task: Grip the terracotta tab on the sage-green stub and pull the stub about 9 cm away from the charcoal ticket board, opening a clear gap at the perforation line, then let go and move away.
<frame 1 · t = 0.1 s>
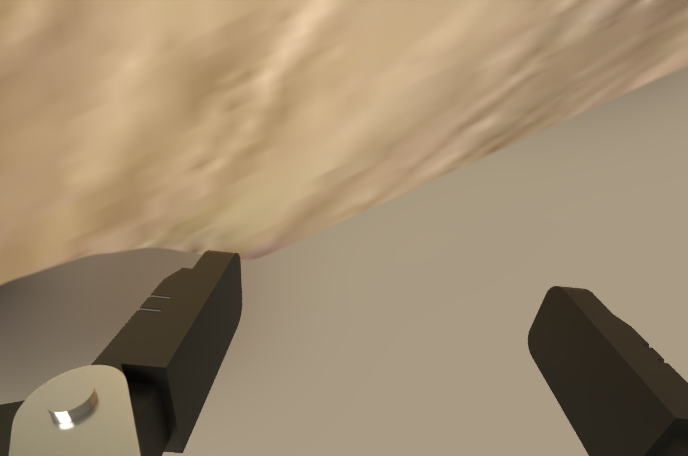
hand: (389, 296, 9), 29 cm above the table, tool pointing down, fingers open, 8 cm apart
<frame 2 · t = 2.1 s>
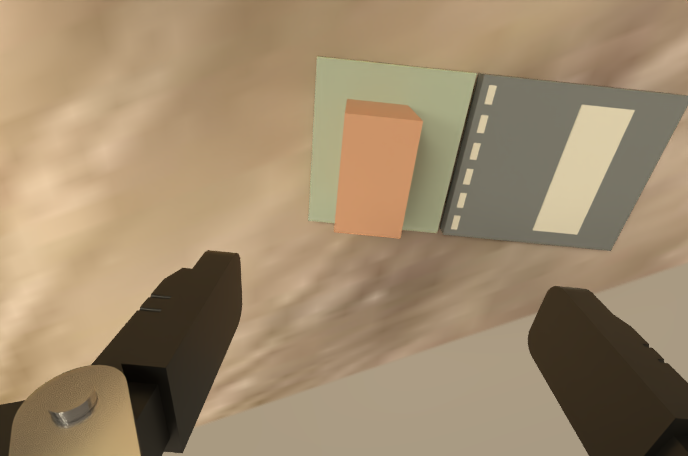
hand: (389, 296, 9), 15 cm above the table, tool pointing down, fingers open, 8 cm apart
stub: (386, 165, 19), point 3 cm above the table, slide at 0.0 cm
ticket: (546, 167, 22), on the table
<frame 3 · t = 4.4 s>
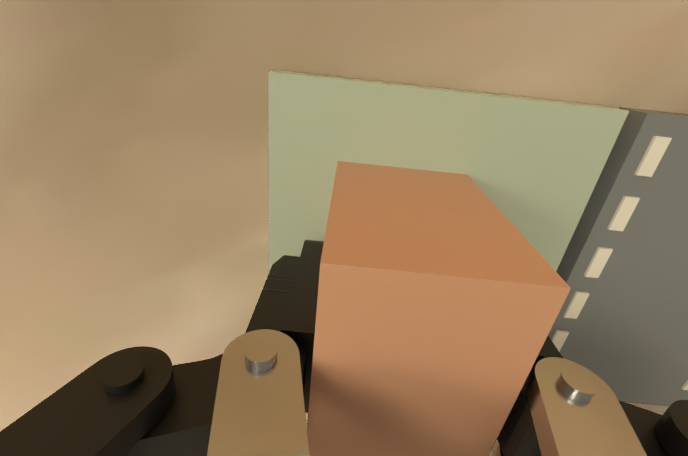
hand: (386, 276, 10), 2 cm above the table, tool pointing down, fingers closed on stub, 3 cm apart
stub: (423, 310, 9), point 3 cm above the table, slide at 0.0 cm, touching gripper
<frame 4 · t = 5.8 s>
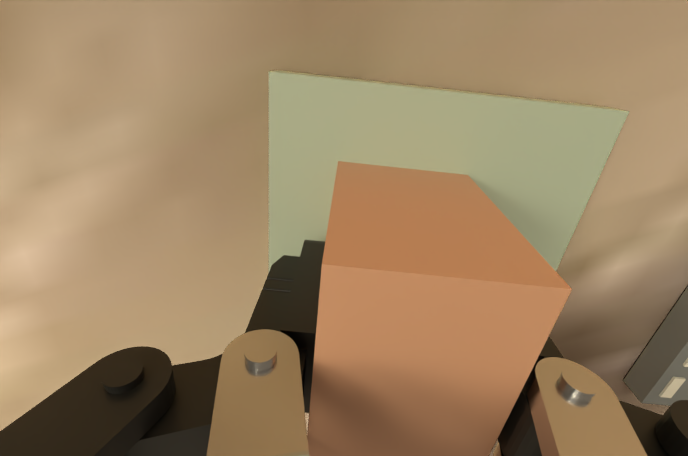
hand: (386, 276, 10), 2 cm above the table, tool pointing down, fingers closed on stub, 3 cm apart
stub: (423, 310, 9), point 3 cm above the table, slide at 4.9 cm, touching gripper
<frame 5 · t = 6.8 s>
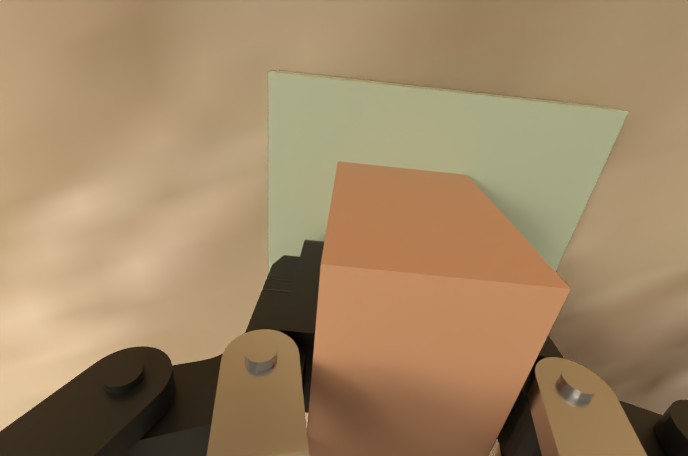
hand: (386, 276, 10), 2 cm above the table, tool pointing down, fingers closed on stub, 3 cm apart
stub: (423, 310, 9), point 3 cm above the table, slide at 8.8 cm, touching gripper
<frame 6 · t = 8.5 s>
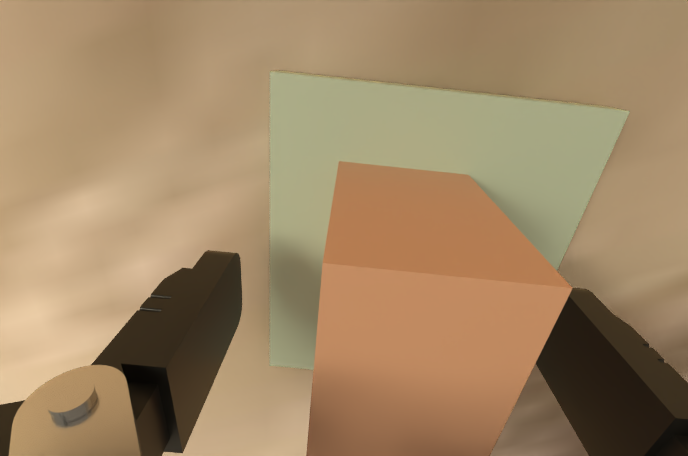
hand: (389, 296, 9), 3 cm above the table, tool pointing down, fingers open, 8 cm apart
stub: (424, 310, 9), point 3 cm above the table, slide at 8.9 cm
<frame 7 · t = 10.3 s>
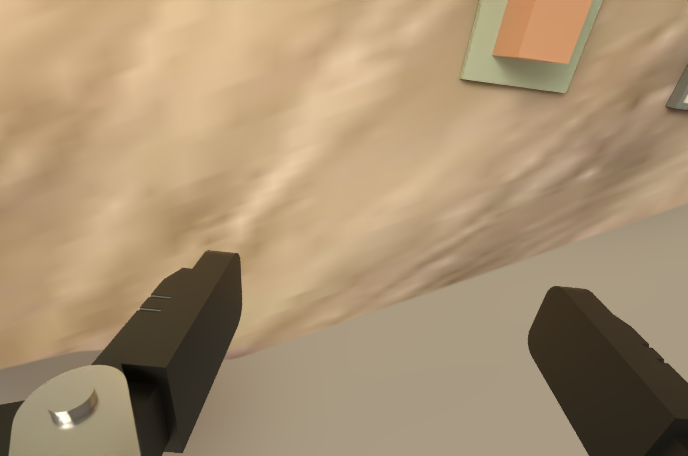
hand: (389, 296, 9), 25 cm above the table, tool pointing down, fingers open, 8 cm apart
stub: (550, 13, 24), point 3 cm above the table, slide at 8.9 cm
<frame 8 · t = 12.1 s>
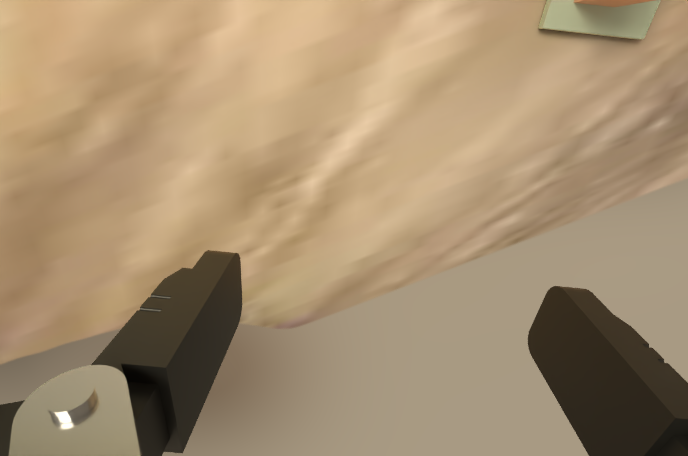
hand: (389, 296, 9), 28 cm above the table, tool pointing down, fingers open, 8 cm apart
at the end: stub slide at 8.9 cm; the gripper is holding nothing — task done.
